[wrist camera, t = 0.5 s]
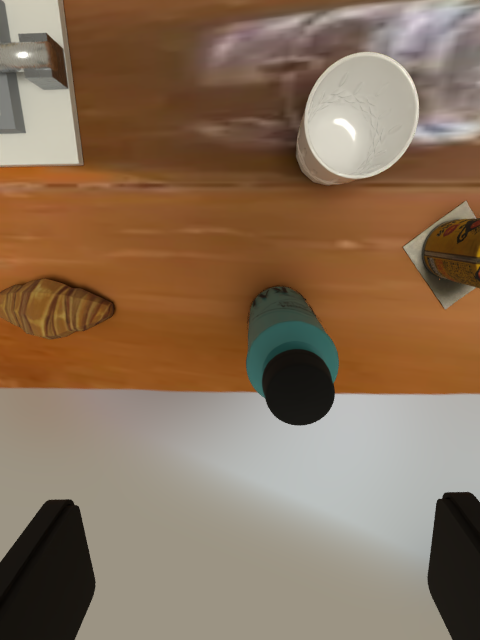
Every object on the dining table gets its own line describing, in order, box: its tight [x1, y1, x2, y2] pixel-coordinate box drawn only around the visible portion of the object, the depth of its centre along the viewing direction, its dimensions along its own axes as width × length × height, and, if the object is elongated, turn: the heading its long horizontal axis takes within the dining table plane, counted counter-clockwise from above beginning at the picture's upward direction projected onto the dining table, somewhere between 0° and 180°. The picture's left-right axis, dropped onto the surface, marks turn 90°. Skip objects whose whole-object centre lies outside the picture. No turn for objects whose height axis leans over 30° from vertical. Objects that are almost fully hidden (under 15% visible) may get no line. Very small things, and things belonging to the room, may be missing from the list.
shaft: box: [0, 33, 69, 90], centre depth 30 cm, size 6×3×4 cm, turn 91°
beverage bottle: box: [246, 286, 339, 425], centre depth 28 cm, size 6×7×20 cm
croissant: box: [0, 278, 114, 339], centre depth 37 cm, size 14×7×5 cm, turn 87°
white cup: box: [296, 52, 419, 186], centre depth 29 cm, size 8×8×10 cm
